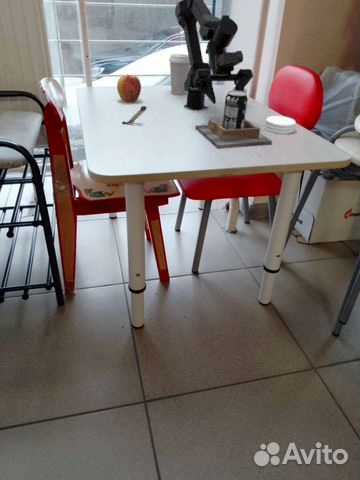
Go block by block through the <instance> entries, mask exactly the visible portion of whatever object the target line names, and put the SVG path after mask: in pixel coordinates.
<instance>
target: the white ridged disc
mask: <svg viewBox="0 0 360 480" xmlns="http://www.w3.org/2000/svg"><path fill="white" fill-rule="evenodd" d="M296 125H297V122H296V120H295V119H294V118H292V117H289V116H284V115H282V116H281V115H270V116H267V117H266V119H265V123H264V129H265V130H266V131H267V132H269V133H272V134H277V135H289V134H290V133H291V134H293V133H294V132H295V129H296ZM291 134H290V135H291Z"/></svg>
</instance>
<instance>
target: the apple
mask: <svg viewBox="0 0 360 480" xmlns="http://www.w3.org/2000/svg"><path fill="white" fill-rule="evenodd" d="M141 84H142V83H141V80H140V78H139V77H138V76H137V75H133V74H132V75H131V74H130V75H129V73H127V75H122V76H120V77H119V79H118V80H117V83H116V88H117V89H116V90H117V92H118V93H117V94H118V96H119V98H120V99H121V101H123V102H124V103H135V102H136V101H137V100H138V99H139V97H140V95H141V92H142V85H141Z"/></svg>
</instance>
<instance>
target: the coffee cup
mask: <svg viewBox="0 0 360 480" xmlns="http://www.w3.org/2000/svg"><path fill="white" fill-rule="evenodd" d="M168 61H169V67H170V68H169V69H170V90H171V92H170V93H171V94H172V95H173V96H186V95H187V93H188V92H187V91H186V90H184V83H185V81H186V79H187V77H188V72H189V69H190V61H189V56H188V54H186V53H185V54H184V53H172V54H171V55H170V57H169V59H168Z"/></svg>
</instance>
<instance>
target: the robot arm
mask: <svg viewBox="0 0 360 480" xmlns="http://www.w3.org/2000/svg"><path fill="white" fill-rule="evenodd" d="M174 10H175V11H174V14H175V17H176V19H177V24H178V25H179V26H180V28H181V29H182V30H183V32H184V37H185V44H186V49H187V55H188V56H189V61H190V69H189V72H188V77H187V79H186V81H185V83H184V90H186V91H187V92H186V93H187V94H186V95H187V96H186V104H184V105H183V106H184V108H187V109H189V110H194V111H199V110H204V109H207V108H208V106H206V105H205V100H206V99H205V98H206V97H208V99H209V100H210V101H211V103H212V104H213V105H215V104H216V103H217V100H216V99H217V98H216V96H215V92H214V87H213V82H233V83H234V86H235V85H236V86H235V90H236V91H243V92H244V87H245V86H246V87H247V85H248V84H249V82H250V81H251V80H252V78H253V77H254V73H253V71H252V69H250V68H240V69H239V70H238V71H237V72H236V73H232V72H233V71H234V70H235V66H236V65H237V66H238V65H239V64H241V63H243V61H244V54H243V51H242V50H236V51H234V52H233V51H232V52H231V51H230V52H227V50H226V49H227V47H229V46H230V45H231V44H232V41H233V39H234V38H235V36H236V34H237V32H238V31H239V30H238V28H239V27H238V24H237V23H236V22H235V21H234V20H233V19H232V18H230V16H229V15H226V14H225V15H224V14H222V15H221V18H219V17H217V16H215V15H213V14H212V12H211V11H210V9H209V8H208V6H207V4H206V3H205V1H204V0H180V1H179V2H178V3H177V4H176V5H175V8H174ZM197 22H198V25H199V31H198V28H197V27H198V26H197ZM199 36H200V38H201V40H202V41H206V42H207V41H208V43H207V44H206V49H205V54H206V55H208V58H209V59H208V60H209V63H208V62H204V61H203V60H204V58H203V54H202V49H201V42H200V39H199Z"/></svg>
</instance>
